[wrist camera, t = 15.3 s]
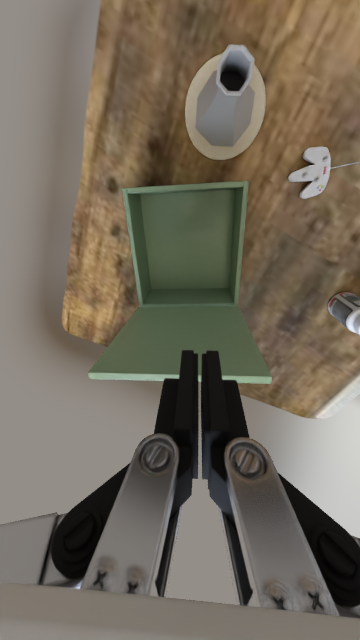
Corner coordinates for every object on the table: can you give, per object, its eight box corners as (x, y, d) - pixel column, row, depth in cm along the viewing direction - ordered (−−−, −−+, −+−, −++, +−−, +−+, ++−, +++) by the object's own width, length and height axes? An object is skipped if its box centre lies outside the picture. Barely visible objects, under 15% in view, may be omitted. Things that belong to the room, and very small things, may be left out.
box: (136, 190, 33) (121, 188, 27) (239, 184, 31) (249, 180, 25) (148, 291, 41) (139, 307, 34) (231, 289, 39) (237, 306, 33)
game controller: (282, 163, 30) (289, 160, 28) (377, 107, 26) (394, 98, 24) (293, 204, 32) (300, 204, 30) (383, 157, 29) (399, 153, 26)
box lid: (87, 372, 19) (89, 379, 19) (272, 376, 17) (271, 383, 17) (138, 306, 34) (139, 310, 34) (238, 305, 33) (237, 310, 33)
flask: (186, 133, 29) (180, 105, 20) (209, 57, 25) (215, -17, 16) (235, 157, 29) (250, 140, 21) (265, 87, 26) (297, 31, 17)
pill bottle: (334, 320, 40) (364, 346, 33) (321, 303, 39) (349, 327, 32) (361, 304, 39) (398, 329, 31) (348, 285, 37) (384, 307, 30)
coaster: (183, 60, 26) (183, 57, 25) (270, 50, 25) (272, 47, 24) (186, 163, 31) (185, 162, 30) (259, 158, 30) (260, 157, 29)
